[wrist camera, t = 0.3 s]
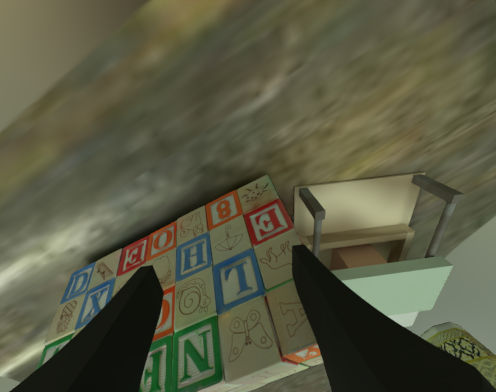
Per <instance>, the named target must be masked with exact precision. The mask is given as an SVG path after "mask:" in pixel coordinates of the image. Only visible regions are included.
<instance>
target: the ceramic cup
mask: <svg viewBox="0 0 496 392" xmlns="http://www.w3.org/2000/svg"><path fill="white" fill-rule="evenodd" d="M421 338H423V339H424V340H426V341H428V342H429V343H431V344H433V345H435V346H437V347H438V348H440V349H442V350H444V351H446V352H448V353H450V354H452V355H453V356H455V357H457V358H459V359H461V360H463V361H465V362H467V363H469V364H470V365H472V366H474V367H476V368H477V370H478V371H479V372H480V373H481V374H482V375H483V376H484V377H485V378H486V379H487V380H488V381H489V382H490V383H491V384H492V386H493V387H494V388H495V389H496V355H495V354H493V353H492V352H491V351H490V350H489V349H487V348H486V347H485V346H484V345H482V344H481V343H480V342H479V341H477V340H476V339H475V338H474V337H473V336H471V335H470V334H469V333H468V332H467V331H465V330H464V329H463V328H462V327H460V326H459V325H457V324H454V323H451V322H447V323H443V324H439V325H435V326H433V327H431V328H430V329H428V330H427V331H426V332H424V333H423V334H422V335H421Z"/></svg>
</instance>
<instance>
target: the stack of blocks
mask: <svg viewBox="0 0 496 392" xmlns="http://www.w3.org/2000/svg"><path fill="white" fill-rule="evenodd" d="M301 244H303V242H302V240H301V238H300V236H299V234H298V232H297V230H296V229H295V226H294V224H293V222H292V221H291V218H290V216H289V214H288V213H287V211H286V209H285V207H284V205H283V203H282V201H281V199H280V197H279V196H278V194H277V192H276V190H275V188H274V186H273V184H272V182H271V180H270V178H269V176H268V175H265V176H263V177H261V178H259V179H257V180H255V181H253V182H251V183H249V184H247V185H245V186H243V187H241V188H239V189H238V190H234V191H232V192H230V193H228V194H226V195H224V196H222V197H220V198H218V199H216V200H214V201H212V202H210V203H208V204H207V205H205V206H202V207H200V208H198V209H196V210H194V211H192V212H190V213H188V214H186V215H184V216H182V217H180V218H179V219H177V221H175V222H172V223H171V224H169V225H167V226H165V227H163V228H161V229H159V230H157V231H155V232H153V233H151V234H150V235H148V236H146V237H144V238H142V239H140V240H138V241H136V242H134V243H132V244H130V245H128V246H126V247H125V248H124V249H123V248H122V249H119V250H117V251H115V252H113V253H111V254H109V255H107V256H105V257H103V258H101V259H99V260H98V261H96V262H93V263H91V264H90V265H87V266H86V267H84V268H82V269H80V270H78V271H76V272H74V273H73V274H72V276H71V278H70V281H69V283H68V286H67V288H66V290H65V293H64V296H63V298H62V300H61V303H60V306H59V308H58V310H57V312H56V315H55V317H54V320H53V322H52V325H51V327H50V330H49V332H48V335H47V337H46V340H45V343H44V344H45V345H46V346H45V348H44V350H43V352H42V355H41V357H40V360H39V363H38V366H37V368H36V370H37V369H38V368H39V367H40V366H42V365H43V364H44V363H45V362H46V361H48V360H49V359H50V358H51V357H52V356H54V355H55V354H56V353H57V352H58V351H59V350H60V349H61V348H63V347H64V346H65V345H66V344H67V343H68V342H69V341H70V340H71V339H72V338H73V337H75V336H76V335H77V334H78V333H79V332H80V331H81V330H82V329H83V328H84V327H85V326H86V325H87V324H88V323H89V322H90V321H91V320H92V319H93V318H94V317H95V316H96V315H97V314H98V313H99V312H100V311H101V309H102V308H103V307H104V306H105V305H106V304H107V303H108V302H109V301H110V300H111V299H112V298H113V297H114V295H115V294H116V293H117V292H118V291H119V290H120V289H121V288H122V287H123V285H124V284H125V283H126V282H127V281H128V280H129V279H130V278H131V276H132V275H133V274H134V273H135V272H136V271H137V270H138V269H139V268H140V267H142V266H149V265H153V267H154V270H155V272H156V275H157V277H158V279H159V282H160V284H161V286H162V289H163V291H164V296H163V302H162V308H161V313H160V317H159V320H158V324H157V327H156V330H155V334H154V337H153V340H152V344H151V347H150V350H149V354H148V357H147V360H146V364H145V367H144V371H143V375H142V379H141V384H140V389H139V392H248V391H250V390H253V389H256V388H258V387H261V386H263V385H265V384H267V383H269V382H272V381H275V380H277V379H280V378H283V377H285V376H288V375H291V374H293V373H296V372H299V371H302V370H304V369H307V368H309V366H314V365H317V364H320V363H323V360H322V356H321V353H320V350H319V347H318V344H317V341H316V338H315V336H314V333H313V331H312V328H311V326H310V324H309V321H308V319H307V316H306V314H305V311H304V309H303V306H302V304H301V301H300V299H299V296H298V293H297V290H296V287H295V283H294V279H293V276H292V246H293V245H301Z"/></svg>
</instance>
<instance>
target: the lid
mask: <svg viewBox="0 0 496 392" xmlns="http://www.w3.org/2000/svg"><path fill="white" fill-rule="evenodd" d="M452 267H453V265H452V264H451V263H450V262H448V261H447V260H446V259H445V258H443V257H442V256H437V257H430V258H422V259H415V260H407V261H400V262H393V263H385V264H378V265H370V266H363V267H355V268H348V269H341V270H333V271H331V272H332V273H333V274H334V275H335V276H336V277H337V278H339V279H340V280H341V281H342V282H343V283H344V284H345V285H347V286H348V287H349V288H350V289H351V290H352V291H354V292H355V293H356V294H357V295H359V296H360V297H361V298H362V299H364V300H365V301H366V302H368V303H369V304H370V305H372V306H373V307H375V308H376V309H377V310H379V311H380V312H382V313H383V314H384V315H386V316H390V315H397V314H404V313H411V312H418V311H425V310H431V309H432V307H433V305H434V303H435V301H436V299H437V297H438V295H439V293H440V291H441V289H442V287H443V285H444V283H445V281H446V279H447V277H448V275H449V273H450V271H451V269H452Z"/></svg>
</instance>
